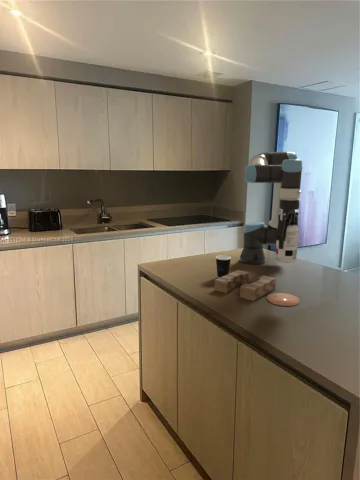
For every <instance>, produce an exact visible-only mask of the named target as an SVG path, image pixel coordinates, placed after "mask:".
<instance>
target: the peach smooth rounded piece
mask: <svg viewBox="0 0 360 480" xmlns="http://www.w3.org/2000/svg"><path fill="white" fill-rule="evenodd" d="M266 298H267V301H268V302H269V303H271V304H274V305H276V306H281V307H294V306H297V305H299V304H300V299H299V297H297V296H295V295H294V294H290V293H285V292H273V293H270V294H268V295H267V297H266Z"/></svg>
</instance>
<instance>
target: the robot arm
mask: <svg viewBox="0 0 360 480" xmlns="http://www.w3.org/2000/svg"><path fill="white" fill-rule="evenodd" d="M302 170H303V160H301V159H298V157H297V153H296V152H294V151H265V152H260V153H257V154H255V155H254V156H252V157H251V158H250V160H249V161H248V165H245V167H244V182H246V183H250V184H251V183H252V184H260V183H261V184H262V183H263V184H264V183H265V184H266V183H267V184H268V183H269V184H273V194H272V206H271V207H272V209H271V220H269V221H268V224H265V222H264V221H263V222H262V221H256V222H249V223H246V224H245V225H244V227H243V241H242V242H243V243H242V244H243V246H242V250H241V253H240V255H239V261H240V263H243V264H246V265H247V264H248V265H262V264H266V259H267V258H266V255H265V251H264V245H265V246H276V240H278V241H279V245H278V256H279V257H285V248H286V241H285V238H286V231H287V227H288V226H289V225H297V227H298V228H299V219H298V218H299V212H298V211H297V210H299V209H300V198H301V194H302V191H301V185H302V184H301V182H302Z"/></svg>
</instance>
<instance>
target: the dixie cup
mask: <svg viewBox="0 0 360 480" xmlns="http://www.w3.org/2000/svg"><path fill="white" fill-rule="evenodd" d="M214 258H215V263H216V275H217V279H218V278H220V277H223V276H225V275H227V274H230V273H229V272H230V268H231V259H232V256H229V255H224V254H222V255H220V254H219V255H216V256H215V257H214Z"/></svg>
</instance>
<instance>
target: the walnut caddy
mask: <svg viewBox="0 0 360 480" xmlns="http://www.w3.org/2000/svg"><path fill="white" fill-rule="evenodd" d="M250 279H251V278H250V272H248V271H243V270H239V269H237V270H235V271H232V272H230V273H229V274H227V275H225V276H223V277H220V278H218V277H217V278H216V279H214V291H217V292H219V293H224V294H228V293H230V292H232V291H233V289H234V288H236V287H238V286H240V290H239V291H240V293H239V297H240V298H242V299H246V300H249V301H253V302H254V301H256V300H258V299H259V298H261V297H264V296H265V295H266V294H268V293H271V291H274V290H276V278H275V277H271V276H267V275H261V276H259V277H257V280H256V281H254V282H252V283H250ZM249 283H250V284H249Z"/></svg>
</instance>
